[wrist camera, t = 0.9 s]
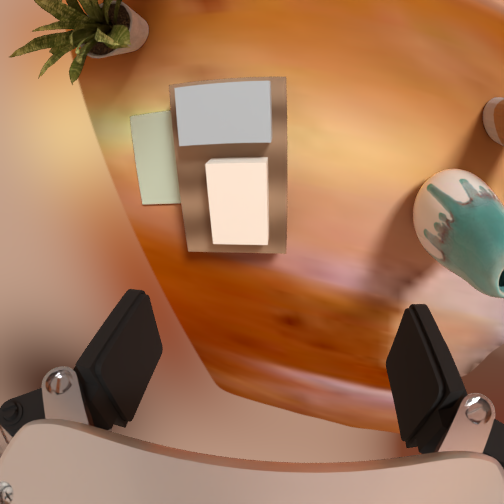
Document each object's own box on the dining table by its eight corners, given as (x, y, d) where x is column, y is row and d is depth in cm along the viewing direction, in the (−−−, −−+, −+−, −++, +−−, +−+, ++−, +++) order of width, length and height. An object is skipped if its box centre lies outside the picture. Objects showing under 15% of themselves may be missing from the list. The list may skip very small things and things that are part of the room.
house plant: (216, -1, 25) (164, -55, 11) (165, 99, 31) (85, 114, 17) (120, -22, 23) (39, -54, 9) (79, 68, 29) (-13, 79, 15)
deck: (181, 85, 30) (169, 85, 27) (285, 78, 29) (286, 76, 26) (196, 236, 41) (188, 251, 37) (286, 237, 39) (286, 253, 36)
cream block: (211, 158, 31) (205, 164, 29) (267, 157, 30) (266, 162, 28) (217, 233, 35) (213, 244, 33) (269, 234, 35) (267, 245, 33)
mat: (131, 116, 33) (129, 116, 32) (183, 108, 32) (181, 109, 32) (143, 203, 39) (142, 204, 38) (192, 201, 38) (191, 203, 38)
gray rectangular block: (187, 141, 30) (179, 146, 28) (182, 87, 27) (174, 87, 25) (272, 138, 29) (271, 142, 27) (270, 81, 26) (269, 80, 24)
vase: (387, 217, 36) (442, 307, 21) (433, 143, 30) (524, 194, 15) (443, 253, 38) (500, 340, 22) (486, 190, 32) (565, 256, 16)
